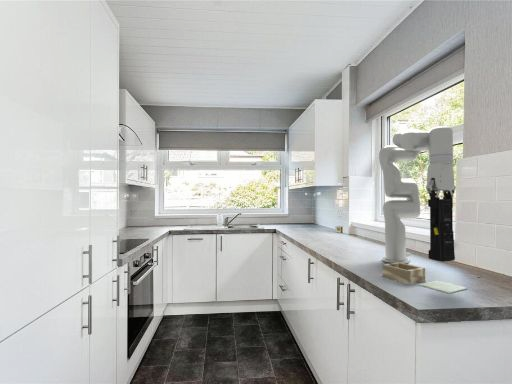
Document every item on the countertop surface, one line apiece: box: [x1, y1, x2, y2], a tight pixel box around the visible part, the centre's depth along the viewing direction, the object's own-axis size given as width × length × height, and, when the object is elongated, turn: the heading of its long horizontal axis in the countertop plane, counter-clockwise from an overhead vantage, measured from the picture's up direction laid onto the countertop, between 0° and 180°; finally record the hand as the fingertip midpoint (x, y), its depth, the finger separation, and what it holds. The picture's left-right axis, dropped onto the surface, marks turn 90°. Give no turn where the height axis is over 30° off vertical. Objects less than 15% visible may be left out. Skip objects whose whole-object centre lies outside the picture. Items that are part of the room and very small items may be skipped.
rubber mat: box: [418, 280, 468, 295], centre depth 108 cm, size 11×11×1 cm
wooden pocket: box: [381, 262, 426, 285], centre depth 119 cm, size 10×12×5 cm
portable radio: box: [427, 193, 456, 263], centre depth 108 cm, size 8×6×25 cm
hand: (441, 207), depth 109 cm, fingers closed on portable radio, 7 cm apart
